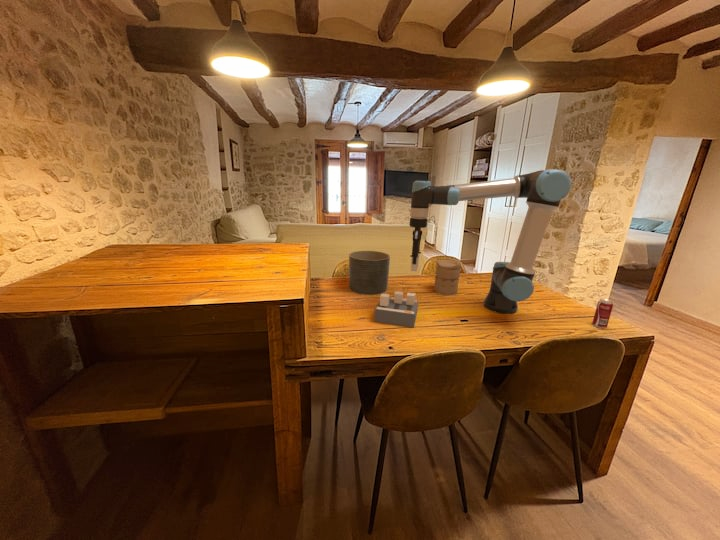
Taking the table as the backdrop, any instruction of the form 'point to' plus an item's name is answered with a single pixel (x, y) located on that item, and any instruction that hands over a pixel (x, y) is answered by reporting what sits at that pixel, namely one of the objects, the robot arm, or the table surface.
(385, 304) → the block
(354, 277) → the planter
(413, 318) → the switch bank
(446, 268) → the container
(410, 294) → the slider right
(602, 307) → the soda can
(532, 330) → the table surface
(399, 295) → the slider mid
